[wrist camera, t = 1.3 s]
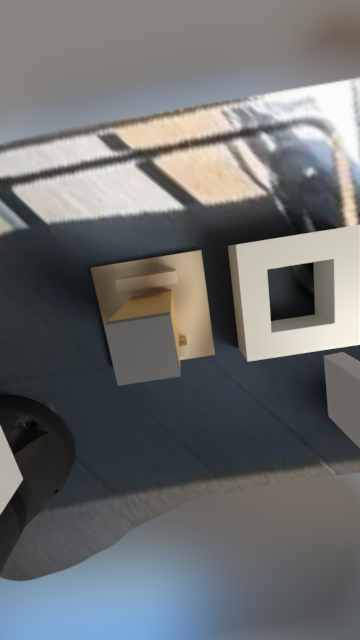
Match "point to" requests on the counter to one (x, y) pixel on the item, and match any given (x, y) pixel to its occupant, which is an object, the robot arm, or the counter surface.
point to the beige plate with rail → (161, 276)
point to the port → (329, 293)
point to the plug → (144, 339)
